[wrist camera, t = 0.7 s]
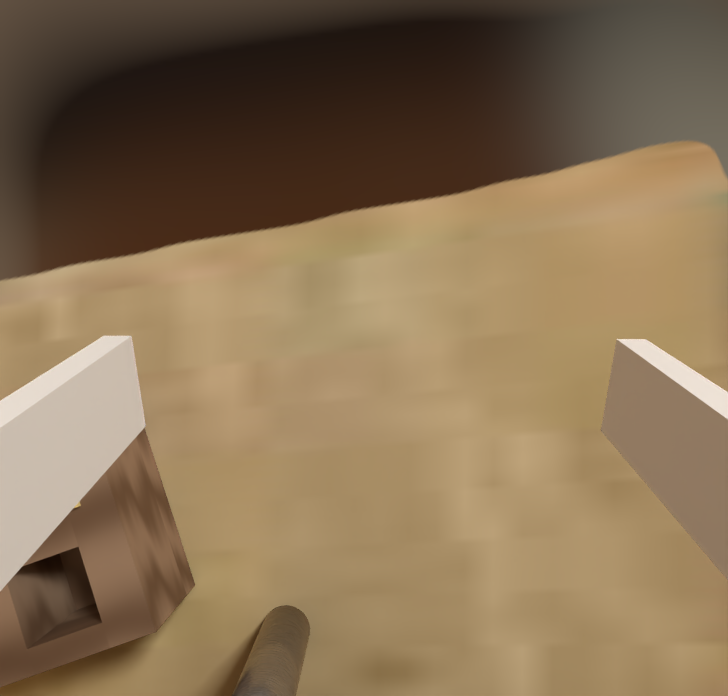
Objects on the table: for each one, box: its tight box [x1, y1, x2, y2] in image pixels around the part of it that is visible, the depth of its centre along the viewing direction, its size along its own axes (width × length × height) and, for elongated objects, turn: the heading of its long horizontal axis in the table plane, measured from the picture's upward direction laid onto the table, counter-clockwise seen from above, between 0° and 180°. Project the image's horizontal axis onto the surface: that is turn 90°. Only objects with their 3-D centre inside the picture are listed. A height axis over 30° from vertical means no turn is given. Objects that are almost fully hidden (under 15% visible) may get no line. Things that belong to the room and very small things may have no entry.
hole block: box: [0, 428, 195, 687], centre depth 40 cm, size 18×12×8 cm, turn 19°
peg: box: [232, 606, 310, 696], centre depth 35 cm, size 4×4×16 cm
